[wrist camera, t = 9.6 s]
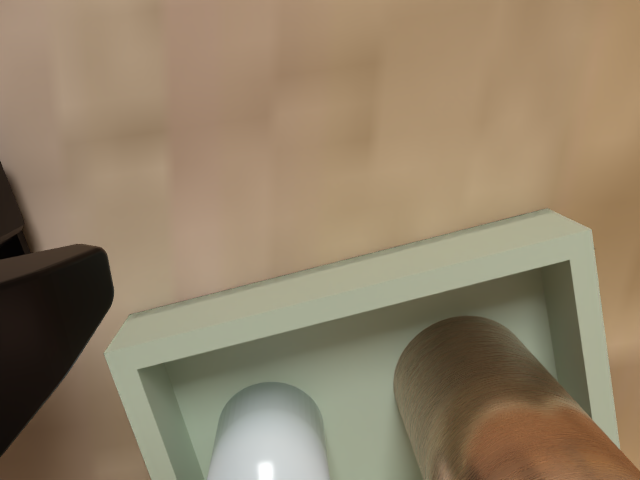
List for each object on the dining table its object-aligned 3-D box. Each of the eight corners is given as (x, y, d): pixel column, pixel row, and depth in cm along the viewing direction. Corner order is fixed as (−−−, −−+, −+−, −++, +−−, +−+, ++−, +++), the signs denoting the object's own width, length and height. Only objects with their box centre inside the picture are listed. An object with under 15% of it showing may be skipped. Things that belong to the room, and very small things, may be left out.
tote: (217, 560, 24) (208, 628, 21) (129, 314, 22) (103, 353, 18) (586, 467, 24) (629, 523, 21) (547, 208, 21) (591, 229, 18)
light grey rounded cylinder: (234, 486, 23) (220, 593, 18) (204, 396, 22) (181, 485, 17) (334, 461, 23) (347, 562, 18) (309, 370, 22) (316, 451, 17)
